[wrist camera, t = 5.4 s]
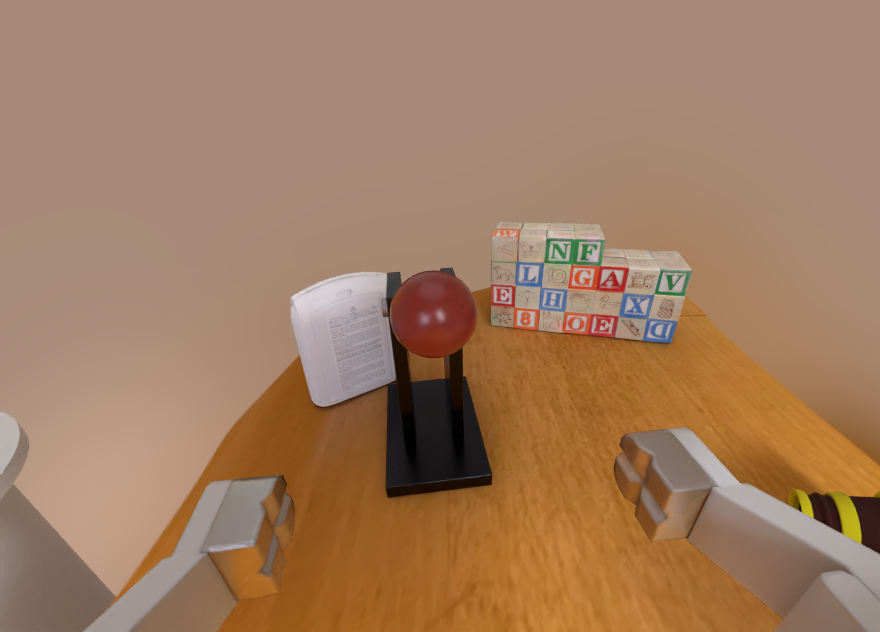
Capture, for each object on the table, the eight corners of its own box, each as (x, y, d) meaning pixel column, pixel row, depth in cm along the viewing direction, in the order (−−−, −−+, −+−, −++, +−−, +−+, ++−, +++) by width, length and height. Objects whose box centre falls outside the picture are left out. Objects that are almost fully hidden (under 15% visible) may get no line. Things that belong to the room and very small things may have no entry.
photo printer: (395, 358, 44) (382, 258, 38) (412, 377, 41) (401, 271, 35) (306, 391, 40) (276, 283, 34) (318, 415, 36) (287, 301, 30)
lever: (488, 360, 14) (481, 264, 14) (392, 370, 14) (382, 272, 14) (448, 324, 29) (444, 277, 29) (401, 328, 29) (397, 281, 29)
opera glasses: (771, 517, 27) (782, 467, 24) (872, 527, 25) (894, 474, 23) (857, 699, 19) (885, 648, 16) (1017, 735, 17) (1071, 682, 15)
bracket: (491, 485, 29) (497, 317, 22) (387, 498, 28) (357, 330, 21) (465, 385, 39) (463, 249, 32) (389, 393, 39) (369, 256, 32)
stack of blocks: (660, 319, 49) (686, 226, 43) (671, 345, 44) (702, 243, 38) (496, 304, 55) (499, 220, 49) (489, 326, 50) (491, 234, 44)
